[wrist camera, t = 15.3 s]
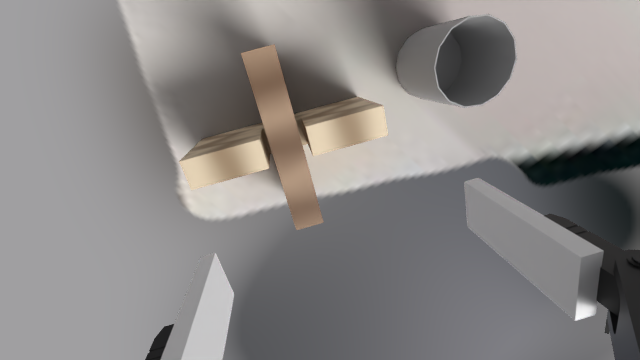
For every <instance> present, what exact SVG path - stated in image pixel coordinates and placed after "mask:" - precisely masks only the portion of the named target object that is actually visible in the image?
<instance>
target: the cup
mask: <svg viewBox="0 0 640 360" xmlns="http://www.w3.org/2000/svg"><path fill="white" fill-rule="evenodd" d="M516 60H517V53H516V43H515V37H514V35H513V34H512V32H511V31H510V29H509V27H508V26H507V24H506V23H505V22H504V21H502V20H500V19H498V18H496V17H494V16H492V15H490V14H485V15H475V16H468V17H464V18H460V19H457V20H453V21H449V22H445V23H442V24H438V25H434V26H430V27H427V28H423V29H420V30H419V31H417V32H416V33H414V34H413V35H411V36H410V37H408V38H407V40H406V41H405V43H404V44H403V46H402V48H401V49H400V51H399V53H398V59H397V64H396V71H397V75H398V80H399V83H400V84H401V86H402V87H403V88H404V89H405V90H406V92H407V93H408V94H410V95H413V96H415V97H418V98H420V99H425V100H430V101H434V102H439V103H444V104H449V105H453V106H458V107H463V108H467V107H474V106H482V105H484V104H485V103H487V102H488V101H490V100H491V99H493V98H495V97H496V96H498V95H499V94H500V92H501V91H502V90H503V88H504V87H505V86H506V84H507V83H508V82H509V80H510V79H511V76H512V73H513V70H514V66H515V63H516Z"/></svg>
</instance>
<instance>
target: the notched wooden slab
mask: <svg viewBox="0 0 640 360" xmlns="http://www.w3.org/2000/svg"><path fill="white" fill-rule="evenodd" d="M294 117H295V120H296V124H297V128H298V131H299V135H300V139H301V142H302V145H304V144H308V145H309V148H310V150H311V152H312V154H313V156H316V155H319V154H323V153H327V152H330V151H334V150H337V149H341V148H345V147H348V146H352V145H355V144H359V143H363V142H366V141H370V140H373V139H377V138H380V137H384V136H388V131H387V125H386V119H385V113H384V107H383V105H380V104H377V103H374V102H372V101H369V100H366V99H363V98H360V97H354V98H351V99H347V100H343V101H340V102H336V103H332V104H329V105H325V106H321V107H317V108H314V109H310V110H306V111H303V112H299V113H295V114H294ZM270 154H272V151H271V148H270V145H269V141H268V138H267V135H266V132H265V129H264V126H263V122H262V123H259V124H255V125H251V126H248V127H244V128H240V129H237V130H233V131H229V132H226V133H222V134H218V135H215V136H211V137H207V138H204V139H202V140H201V141H200V142H199V143H197V144H196V145H195V146H194V147H193V148H192V149H191V150H190V151H189V152H188V153H187V154H186V155H185V156H184V157H183V158H182V159H181V160H180V161H179V162H180V165H181V167H182V169H183V172H184V174H185V176H186V179H187V181H188V183H189V185H190V188H191V190H194V189H198V188H201V187H205V186H208V185H212V184H215V183H219V182H223V181H226V180H230V179H233V178H237V177H241V176H244V175H248V174H251V173H255V172H259V171H262V170H266V169H269V161H270Z"/></svg>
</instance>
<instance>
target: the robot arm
mask: <svg viewBox="0 0 640 360" xmlns="http://www.w3.org/2000/svg"><path fill="white" fill-rule="evenodd" d="M464 185H465V198H466V213H467V226H468V228H469V229H471V230H472V231H473V232H474V233H475V234H476V235H477V236H479V237H480V238H481V239H482V240H483V241H484V242H485V243H487V244H488V245H489V246H490V247H491V248H492V249H493V250H495V251H496V252H497V253H498V254H499V255H500V256H501V257H503V258H504V259H505V260H506V261H507V262H509V263H510V264H511V265H512V266H513V267H514V268H515V269H516V270H517V271H519V272H520V273H521V274H522V275H523V276H524V277H526V278H527V279H528V280H529V281H530V282H531V283H532V284H534V285H535V286H536V287H537V288H538V289H539V290H540V291H542V292H543V293H544V294H545V295H546V296H547V297H548V298H550V299H551V300H552V301H553V302H554V303H555V304H556V305H558V306H559V307H560V308H561V309H562V310H563V311H564V312H566V313H567V314H568V315H569V316H570V317H572V319H574V320H575V321H576V320H579V319H583V318H586V317H589V316H592V315H596V308H597V301H598V302H599V303H601V304H602V305H603V306H605V307H606V308H607V309H608V314H607V320H606V328H605V333H607V334H609V332H610V335H611V341H612V346H613V351H614V357H615V360H640V250H625V251H624V250H622V249H620V248H619V247H617V246H615V245H613V244H611V243H609V242H608V241H606V240H604V239H602V238H601V237H599V236H597V235H595V234H593V233H591V232H588V231H587V230H586V229H584V228H582V227H580V226H577V224H575V223H573V222H571V221H569V220H568V219H565V218H563V217H559V216H556V215H552V214H548V215H544V216H543V215H541V214H539V213H538V212H536V211H534V210H533V209H531V208H529V207H528V206H526V205H524V204H523V203H521V202H519V201H517V200H516V199H514V198H512V197H511V196H509V195H507V194H505V193H504V192H502V191H500V190H499V189H497V188H495V187H493V186H492V185H490V184H488V183H486V182H485V181H483V180H481V179H480V178H476V179H473V180H469V181H465V182H464ZM233 298H234V293H233V291H232V288H231V286H230V284H229V282H228V280H227V277H226V275H225V273H224V271H223V269H222V266H221V264H220V262H219V260H218V258H217V255H216V253H213V254H209V255H205V256H202V257H200V259H199V262H198V265H197V267H196V270H195V272H194V275H193V277H192V280H191V282H190V285H189V288H188V290H187V293H186V295H185V298H184V301H183V303H182V306H181V308H180V311H179V313H178V316H177V319H176V321H175V324H172V325H169V326H165V327H164V328H163V329H162V330H161V331H160V333H159V334H158V335H157V336H156V338H155V339H154V341H153V344H152V346H151V348H150V350H149V351H150V352H149V353H148V355H147V357H146V359H145V360H222V359H223V353H224V348H225V342H226V337H227V331H228V326H229V320H230V315H231V309H232V304H233Z"/></svg>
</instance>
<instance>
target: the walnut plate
mask: <svg viewBox="0 0 640 360" xmlns="http://www.w3.org/2000/svg"><path fill="white" fill-rule="evenodd" d="M241 56H242V59H243V62H244V65H245V68H246V72H247V75H248V78H249V81H250V84H251V87H252V91H253V94H254V97H255V100H256V103H257V106H258V110H259V113H260V116H261V119H262V122H263V126H264V129H265V132H266V135H267V138H268V141H269V145H270V148H271V151H272V154H273V157H274V160H275V164H276V167H277V170H278V173H279V176H280V180H281V183H282V186H283V189H284V192H285V195H286V199H287V202H288V205H289V208H290V211H291V214H292V217H293V221H294V224H295V227H296V230H299V229H302V228H306V227H309V226H313V225H316V224H320V223H323V219H322V215H321V211H320V208H319V204H318V201H317V197H316V193H315V190H314V186H313V182H312V179H311V175H310V171H309V168H308V164H307V160H306V157H305V153H304V150H303V146H302V142H301V139H300V135H299V131H298V128H297V124H296V120H295V117H294V113H293V110H292V106H291V102H290V99H289V95H288V91H287V88H286V84H285V80H284V77H283V73H282V70H281V66H280V62H279V59H278V55H277V51H276V48H275V44H274V45H270V46H266V47H262V48H258V49H254V50H251V51H247V52H243V53H241Z"/></svg>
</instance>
